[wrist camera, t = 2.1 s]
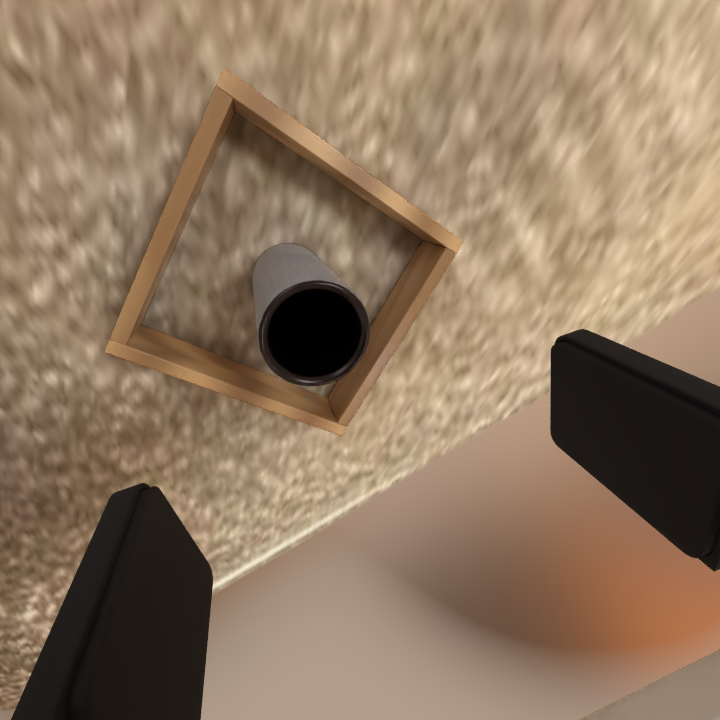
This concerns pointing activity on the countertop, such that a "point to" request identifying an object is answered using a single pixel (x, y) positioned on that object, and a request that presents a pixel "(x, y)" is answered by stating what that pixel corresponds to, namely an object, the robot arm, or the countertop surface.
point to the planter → (306, 317)
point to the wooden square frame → (238, 378)
